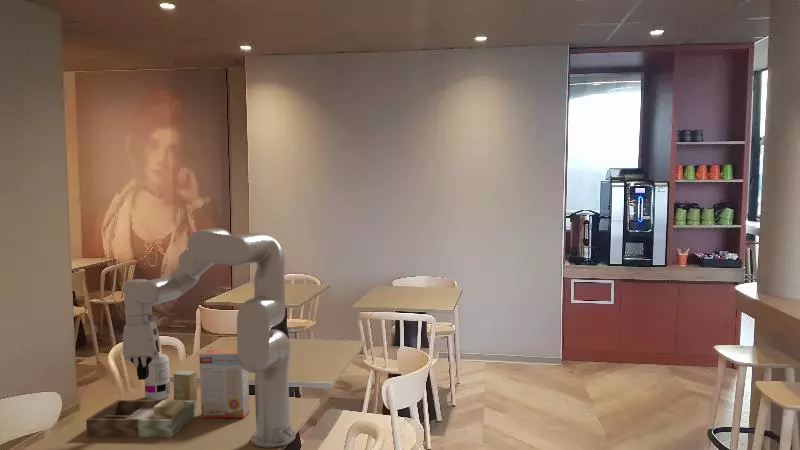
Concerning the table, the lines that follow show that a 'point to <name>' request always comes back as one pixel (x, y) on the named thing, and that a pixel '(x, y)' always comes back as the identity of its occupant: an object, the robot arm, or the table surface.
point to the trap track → (137, 420)
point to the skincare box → (185, 386)
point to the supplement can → (158, 379)
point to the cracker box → (223, 385)
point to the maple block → (167, 408)
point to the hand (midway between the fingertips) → (143, 378)
